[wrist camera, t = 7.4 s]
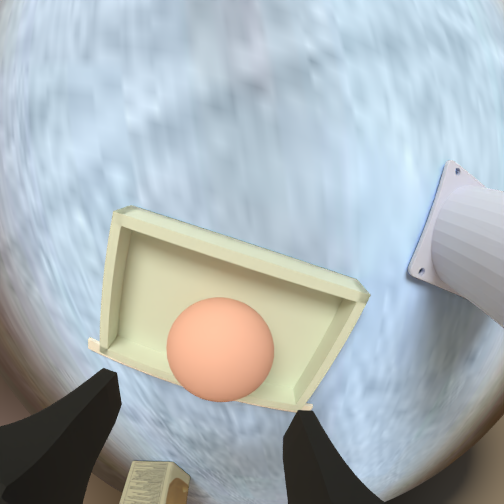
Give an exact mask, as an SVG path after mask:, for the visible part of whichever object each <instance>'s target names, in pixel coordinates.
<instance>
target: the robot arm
mask: <svg viewBox="0 0 504 504" xmlns="http://www.w3.org/2000/svg"><path fill="white" fill-rule="evenodd" d="M455 170H457V174H456V173H455ZM421 268H422V271H421V272H420V273H419V270H420V269H421ZM408 272H409V274H410V275H412V276H413V277H415V278H418V279H420V280H423V281H425V282H428V283H430V284H433V285H435V286H437V287H440V288H442V289H445V290H447V291H449V292H452V293H454V294H456V295H459V296H461V297H463V298H466V299H468V300H469V301H470V302H471V303H473V304H474V305H475V306H477V307H478V308H479V309H481V310H482V311H483V312H484V313H486V314H487V315H488V316H489V317H491V318H492V319H493V320H494V321H495V322H497V323H498V324H499V325H500V326H502V327H503V328H504V191H499V190H494V189H489V188H486V187H485V186H484V185H483V184H482V183H481V182H479V181H478V180H477V179H476V178H475V177H474V176H472V175H471V174H470V173H469V172H468V171H466V170H465V169H464V168H463V167H461V166H460V165H459V164H457V163H456V162H455V161H453V160H448V161H447V162H446V163H445V166H444V170H443V173H442V177H441V180H440V184H439V187H438V190H437V193H436V196H435V200H434V203H433V206H432V208H431V211H430V214H429V217H428V220H427V222H426V225H425V228H424V230H423V233H422V235H421V238H420V240H419V243H418V245H417V248H416V250H415V252H414V255H413V257H412V259H411V262H410V264H409V266H408ZM121 405H122V403H121V397H120V391H119V384H118V377H117V373H116V372H113V371H110V370H108V369H105V368H103V369H101V370H100V371H99V372H97V373H96V374H95V375H93V376H92V377H91V378H90V379H88V380H87V381H86V382H84V383H83V384H82V385H80V386H79V387H78V388H76V389H75V390H73V391H72V392H70V393H69V394H68V395H66V396H65V397H63V398H62V399H60V400H58V401H57V402H55V403H54V404H52V405H50V406H49V407H47V408H45V409H43V410H42V411H40V412H38V413H36V414H33V415H31V416H30V417H27V418H24V419H22V420H19V421H17V422H14V423H11V424H8V425H4V426H1V427H0V504H83V499H84V495H85V492H86V488H87V484H88V481H89V478H90V475H91V472H92V469H93V466H94V464H95V462H96V460H97V458H98V456H99V454H100V452H101V450H102V448H103V446H104V444H105V442H106V440H107V438H108V436H109V434H110V432H111V430H112V428H113V426H114V424H115V422H116V419H117V416H118V413H119V410H120V408H121ZM283 463H284V472H285V480H286V489H287V497H288V504H386V503H385V502H383V501H382V500H381V499H380V498H378V497H377V496H376V495H375V494H374V493H373V492H371V491H370V490H369V489H368V488H367V487H366V486H365V485H364V484H363V483H362V482H361V481H360V480H359V478H358V477H357V476H356V475H355V474H354V473H353V471H352V470H351V469H350V468H349V466H348V465H347V464H346V463H345V461H344V460H343V459H342V457H341V456H340V454H339V453H338V451H337V450H336V448H335V447H334V445H333V444H332V442H331V441H330V439H329V438H328V436H327V434H326V433H325V431H324V429H323V428H322V426H321V424H320V422H319V421H318V419H317V417H316V415H315V414H314V412H313V411H309V410H298V411H297V413H296V415H295V417H294V418H293V420H292V422H291V424H290V426H289V428H288V429H287V431H286V433H285V435H284V437H283Z"/></svg>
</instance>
